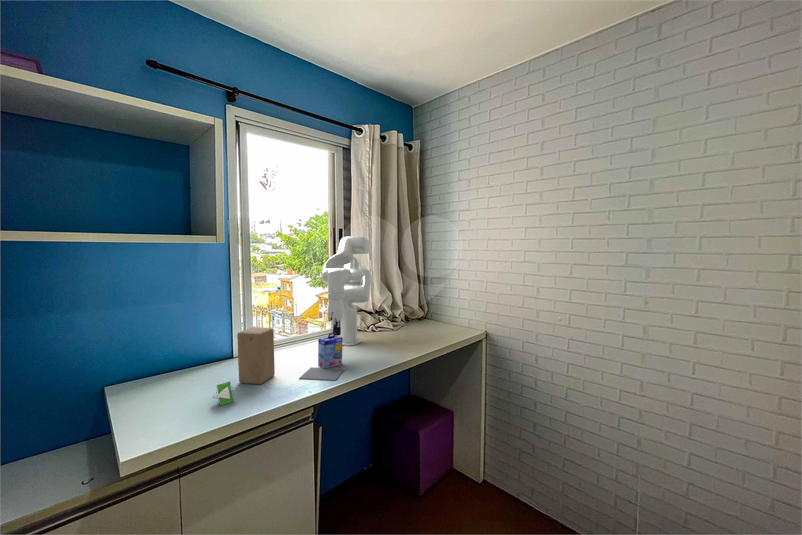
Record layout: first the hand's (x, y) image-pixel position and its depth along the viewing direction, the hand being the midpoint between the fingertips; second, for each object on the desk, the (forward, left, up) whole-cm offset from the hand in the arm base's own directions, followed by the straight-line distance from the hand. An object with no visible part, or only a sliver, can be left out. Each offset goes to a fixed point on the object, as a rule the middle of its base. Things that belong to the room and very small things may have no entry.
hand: (336, 335), depth 159 cm
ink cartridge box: (+10, 0, -11) cm, 15 cm away
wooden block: (+28, -24, -11) cm, 39 cm away
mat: (+20, 0, -11) cm, 23 cm away
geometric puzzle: (+48, -24, -11) cm, 55 cm away
